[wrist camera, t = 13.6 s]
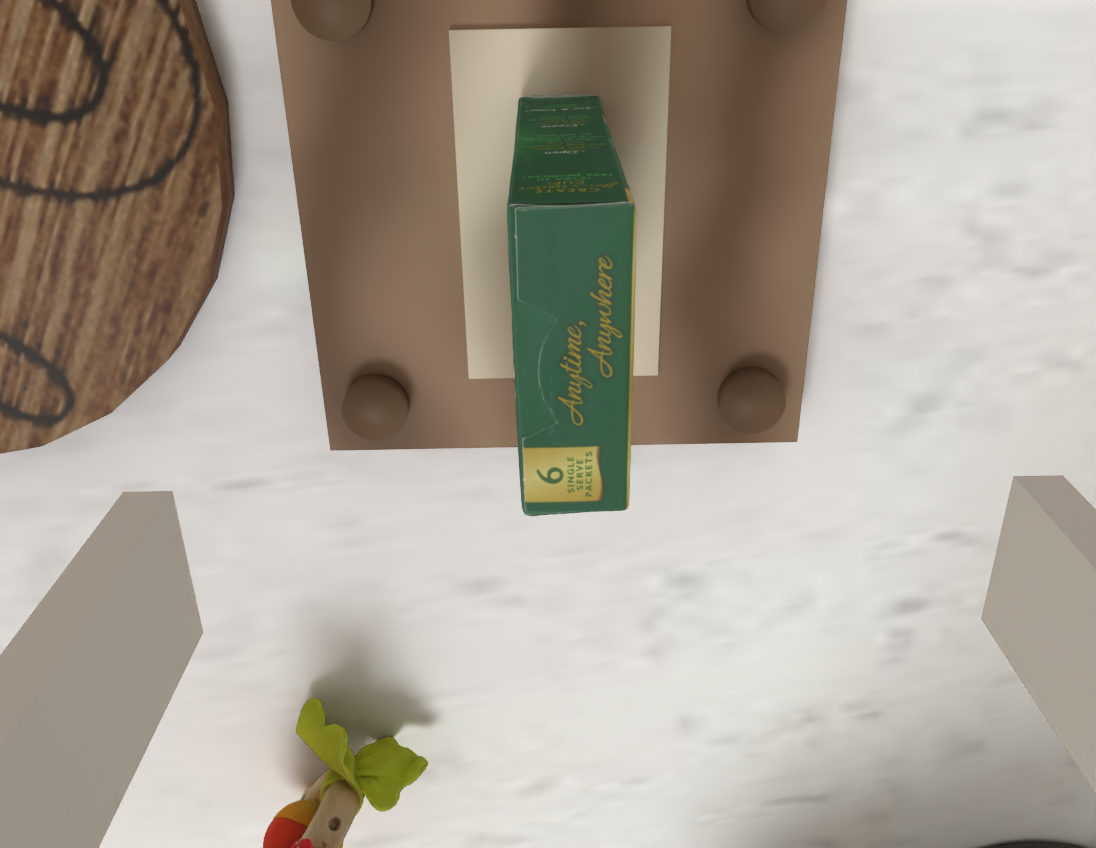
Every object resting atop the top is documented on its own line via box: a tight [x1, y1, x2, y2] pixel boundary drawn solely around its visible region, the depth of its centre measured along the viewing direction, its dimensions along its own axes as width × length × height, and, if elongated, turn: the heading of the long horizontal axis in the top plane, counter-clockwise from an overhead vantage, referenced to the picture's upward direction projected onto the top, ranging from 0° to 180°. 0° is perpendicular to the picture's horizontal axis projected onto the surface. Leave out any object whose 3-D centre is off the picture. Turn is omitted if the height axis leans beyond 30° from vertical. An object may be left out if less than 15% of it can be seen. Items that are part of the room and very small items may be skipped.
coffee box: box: [507, 94, 637, 516], centre depth 27 cm, size 8×3×13 cm, turn 1°
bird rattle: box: [263, 698, 428, 848], centre depth 43 cm, size 6×11×9 cm
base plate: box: [271, 0, 847, 450], centre depth 34 cm, size 18×18×3 cm
